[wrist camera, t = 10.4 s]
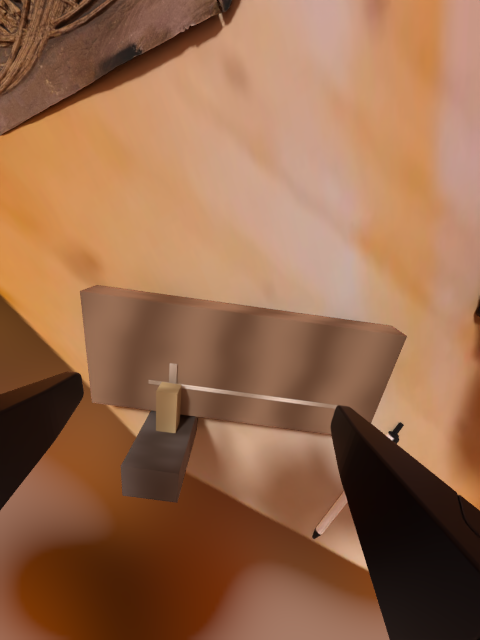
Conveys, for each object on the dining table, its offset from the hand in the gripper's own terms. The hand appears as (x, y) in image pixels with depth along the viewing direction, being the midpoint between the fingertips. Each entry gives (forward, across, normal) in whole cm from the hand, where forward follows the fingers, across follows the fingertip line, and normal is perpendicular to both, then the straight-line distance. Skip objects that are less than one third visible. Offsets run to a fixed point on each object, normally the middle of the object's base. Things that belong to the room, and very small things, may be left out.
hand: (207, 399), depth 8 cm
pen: (+12, -15, +19) cm, 27 cm away
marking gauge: (+11, +4, +10) cm, 16 cm away
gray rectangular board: (+12, -1, +5) cm, 13 cm away
